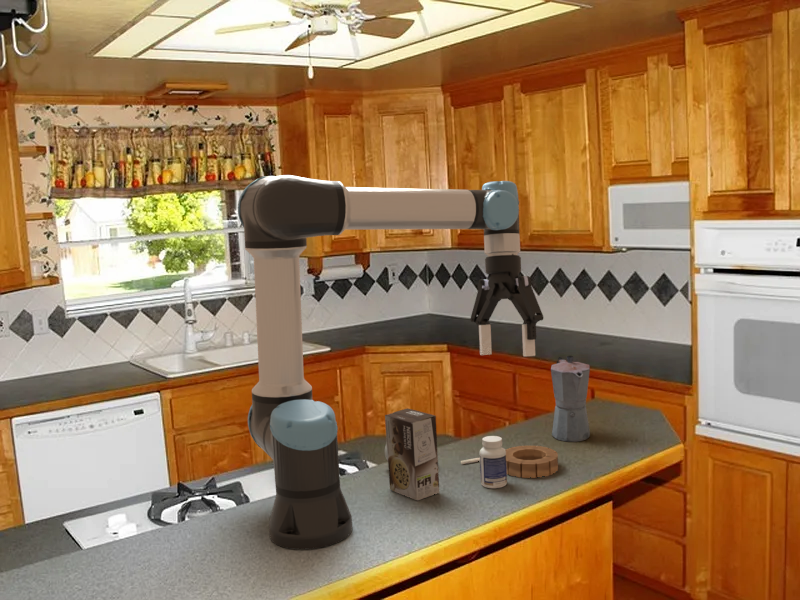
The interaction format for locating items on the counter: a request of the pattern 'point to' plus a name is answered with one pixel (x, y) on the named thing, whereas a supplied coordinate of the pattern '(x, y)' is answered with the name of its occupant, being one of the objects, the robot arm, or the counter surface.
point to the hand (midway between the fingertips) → (506, 355)
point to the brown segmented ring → (531, 461)
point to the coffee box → (412, 453)
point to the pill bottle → (493, 463)
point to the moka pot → (570, 400)
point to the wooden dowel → (470, 461)
